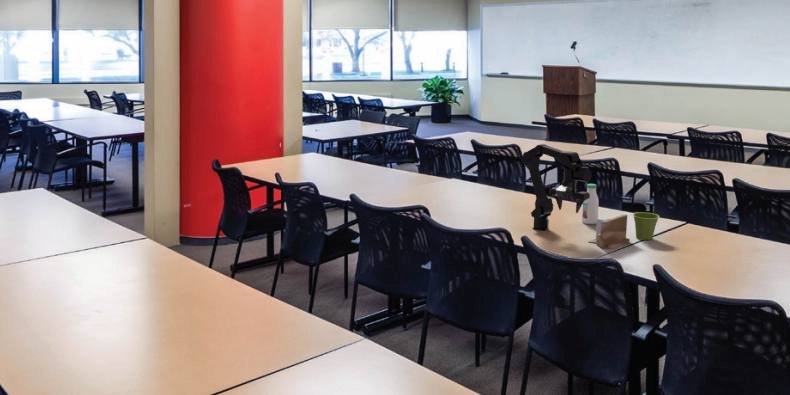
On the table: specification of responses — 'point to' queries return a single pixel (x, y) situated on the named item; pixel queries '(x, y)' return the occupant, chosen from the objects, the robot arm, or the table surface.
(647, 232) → the plant pot
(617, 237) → the brown angular stand
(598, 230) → the pale blue beveled prism
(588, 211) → the milk bottle
